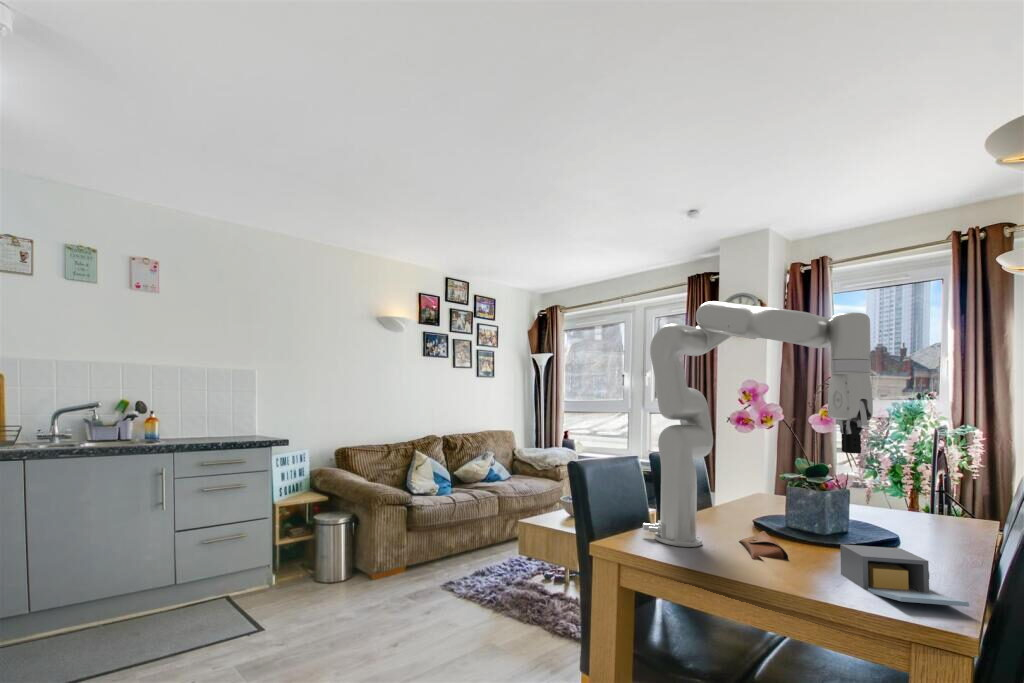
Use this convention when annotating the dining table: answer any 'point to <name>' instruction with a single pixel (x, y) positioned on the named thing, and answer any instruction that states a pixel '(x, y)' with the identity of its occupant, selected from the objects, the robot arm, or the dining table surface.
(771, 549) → the sunglasses case
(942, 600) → the side door
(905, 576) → the block
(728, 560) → the dining table surface
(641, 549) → the dining table surface
